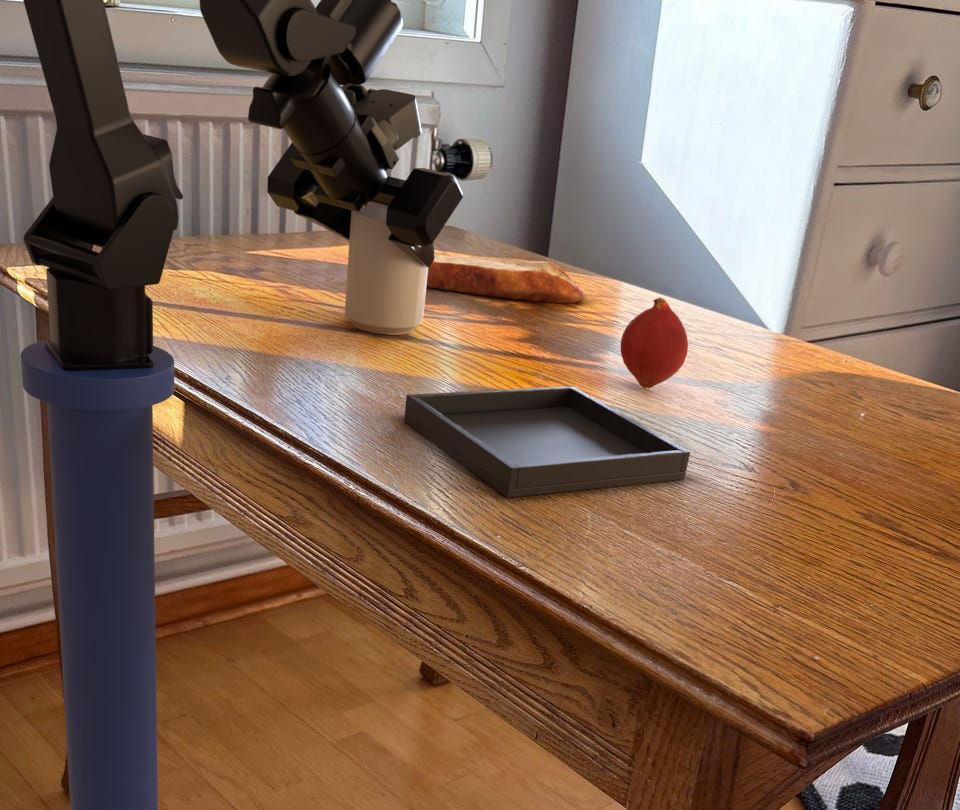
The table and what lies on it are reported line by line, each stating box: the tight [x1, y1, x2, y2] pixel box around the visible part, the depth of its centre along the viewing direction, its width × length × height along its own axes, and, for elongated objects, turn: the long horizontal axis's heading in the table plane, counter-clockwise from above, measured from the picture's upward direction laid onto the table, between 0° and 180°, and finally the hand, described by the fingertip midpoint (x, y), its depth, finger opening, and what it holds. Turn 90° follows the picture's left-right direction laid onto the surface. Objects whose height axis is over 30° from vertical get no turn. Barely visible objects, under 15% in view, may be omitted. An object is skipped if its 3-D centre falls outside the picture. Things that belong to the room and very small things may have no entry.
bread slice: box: [426, 255, 586, 304], centre depth 131 cm, size 18×18×4 cm
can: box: [344, 201, 428, 336], centre depth 109 cm, size 8×8×12 cm
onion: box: [620, 296, 689, 390], centre depth 103 cm, size 6×6×8 cm
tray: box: [403, 385, 691, 499], centre depth 86 cm, size 15×15×2 cm
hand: (398, 254), depth 110 cm, fingers closed on can, 7 cm apart
